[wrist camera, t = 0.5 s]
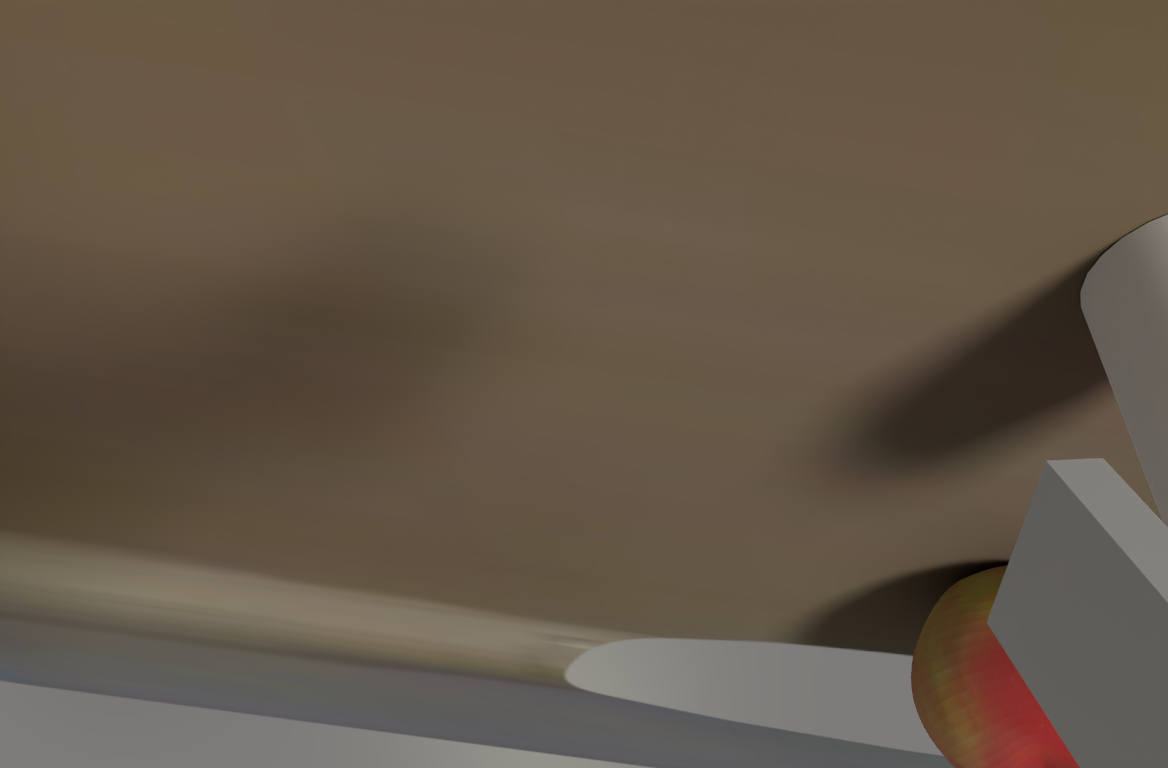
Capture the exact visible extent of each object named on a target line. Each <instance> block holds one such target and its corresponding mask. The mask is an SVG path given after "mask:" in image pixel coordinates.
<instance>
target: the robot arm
mask: <svg viewBox="0 0 1168 768" xmlns="http://www.w3.org/2000/svg"><path fill="white" fill-rule="evenodd" d="M987 624H988V625H989V627H990V629H991V630H992V632H993V633H994V635H995V636H996V638H997V639H998V641H999V643H1000V644H1001V646H1002V647H1003V649H1004V650H1005V652H1006V653H1007V655H1008V657H1009V658H1010V660H1011V661H1012V663H1013V664H1014V666H1015V667H1016V669H1017V671H1018V672H1019V674H1020V675H1021V677H1022V678H1023V680H1024V681H1025V683H1026V685H1027V686H1028V688H1029V689H1030V691H1031V692H1032V694H1033V695H1034V697H1035V699H1036V700H1037V702H1038V703H1039V705H1040V706H1041V708H1042V709H1043V711H1044V713H1045V714H1046V716H1047V717H1048V719H1049V720H1050V722H1051V724H1052V725H1053V727H1054V728H1055V730H1056V731H1057V733H1058V734H1059V736H1060V738H1061V739H1062V741H1063V742H1064V744H1065V745H1066V747H1067V748H1068V750H1069V752H1070V753H1071V755H1072V756H1073V758H1074V759H1075V761H1076V762H1077V764H1078V766H1079V767H1080V768H1168V527H1167V526H1166V525H1165V524H1164V523H1163V522H1162V521H1161V520H1160V519H1159V518H1158V517H1157V516H1156V514H1155V513H1154V512H1153V511H1152V510H1151V509H1150V508H1149V507H1148V506H1147V505H1146V504H1145V503H1144V502H1143V501H1142V499H1141V498H1140V497H1139V496H1138V495H1137V494H1136V493H1135V492H1134V491H1133V490H1132V489H1131V488H1130V487H1129V486H1128V485H1127V483H1126V482H1125V481H1124V480H1123V479H1122V478H1121V477H1120V476H1119V475H1118V474H1117V473H1116V472H1115V471H1114V470H1113V468H1112V467H1111V466H1110V465H1109V464H1108V463H1107V462H1106V461H1105V460H1104V459H1103V458H1096V459H1074V460H1052V461H1046V463H1045V466H1044V468H1043V471H1042V474H1041V476H1040V479H1039V482H1038V485H1037V487H1036V490H1035V493H1034V495H1033V498H1032V501H1031V504H1030V506H1029V509H1028V512H1027V514H1026V517H1025V520H1024V522H1023V525H1022V528H1021V531H1020V533H1019V536H1018V539H1017V541H1016V544H1015V547H1014V550H1013V552H1012V555H1011V558H1010V560H1009V563H1008V566H1007V569H1006V571H1005V574H1004V577H1003V579H1002V582H1001V585H1000V588H999V590H998V593H997V596H996V598H995V601H994V604H993V606H992V609H991V612H990V615H989V617H988V620H987Z"/></svg>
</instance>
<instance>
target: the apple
mask: <svg viewBox="0 0 1168 768" xmlns="http://www.w3.org/2000/svg"><path fill="white" fill-rule="evenodd" d="M1007 566H1008V565H1006V566H1000V567H995V568H991V569H987V570H984V571H981V572H979V573H976V574H973V575H970V576H968V577H966V578H964V579H961V580H960V581H958V582H957V583H955V584H954V585H952V586H951V587H950V588H949V589H948V590H947V591H946V592H945V593H944V594H943V595H942V596H941V598H940V599H939V601H938V602H937V603H936V605H935V606H934V608H933V609H932V611H931V613H930V615H929V616H928V618H927V620H926V622H925V624H924V626H923V628H922V631H921V633H920V635H919V638H918V641H917V644H916V648H915V651H914V656H913V662H912V672H911V673H912V674H911V684H912V693H913V699H914V703H915V706H916V709H917V712H918V715H919V717H920V719H921V722H922V724H923V725H924V728H925V729H926V731H927V733H928V734H929V736H930V738H931V739H932V741H933V742H934V743H935V745H936V746H937V748H938V749H939V750H940V751H941V753H942V754H943V755H944V756H945V758H946V759H947V760H948V761H949V762H950V763H951V764H952V765H953V766H954V767H955V768H1080V767H1079V766H1078V764H1077V762H1076V761H1075V759H1074V758H1073V756H1072V755H1071V753H1070V752H1069V750H1068V748H1067V747H1066V745H1065V744H1064V742H1063V741H1062V739H1061V738H1060V736H1059V734H1058V733H1057V731H1056V730H1055V728H1054V727H1053V725H1052V724H1051V722H1050V720H1049V719H1048V717H1047V716H1046V714H1045V713H1044V711H1043V709H1042V708H1041V706H1040V705H1039V703H1038V702H1037V700H1036V699H1035V697H1034V695H1033V694H1032V692H1031V691H1030V689H1029V688H1028V686H1027V685H1026V683H1025V681H1024V680H1023V678H1022V677H1021V675H1020V674H1019V672H1018V671H1017V669H1016V667H1015V666H1014V664H1013V663H1012V661H1011V660H1010V658H1009V657H1008V655H1007V653H1006V652H1005V650H1004V649H1003V647H1002V646H1001V644H1000V643H999V641H998V639H997V638H996V636H995V635H994V633H993V632H992V630H991V629H990V627H989V625H988V624H987V620H988V617H989V615H990V612H991V609H992V606H993V604H994V601H995V598H996V596H997V593H998V590H999V588H1000V585H1001V582H1002V579H1003V577H1004V574H1005V571H1006V569H1007Z"/></svg>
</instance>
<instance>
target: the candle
mask: <svg viewBox="0 0 1168 768" xmlns="http://www.w3.org/2000/svg"><path fill="white" fill-rule="evenodd" d="M1080 297H1081V309H1082V311H1083V314H1084V317H1085V319H1086V322H1087V325H1088V327H1089V330H1090V332H1091V335H1092V338H1093V340H1094V343H1095V346H1096V348H1097V351H1098V353H1099V356H1100V359H1101V361H1102V364H1103V367H1104V369H1105V372H1106V374H1107V377H1108V380H1109V382H1110V385H1111V388H1112V390H1113V393H1114V395H1115V398H1116V401H1117V403H1118V406H1119V409H1120V411H1121V414H1122V417H1123V419H1124V422H1125V424H1126V427H1127V430H1128V432H1129V435H1130V438H1131V440H1132V443H1133V445H1134V448H1135V451H1136V453H1137V456H1138V459H1139V461H1140V464H1141V466H1142V469H1143V472H1144V474H1145V477H1146V480H1147V482H1148V485H1149V487H1150V490H1151V493H1152V495H1153V498H1154V501H1155V503H1156V506H1157V508H1158V511H1159V514H1160V516H1161V519H1162V522H1163V523H1164V524H1165V525H1166V526H1167V527H1168V214H1167V215H1165V216H1163V217H1160V218H1158V219H1155V220H1153V221H1150V222H1148V223H1146V224H1145V225H1143V226H1141V227H1140V228H1138V229H1136V230H1135V231H1133V232H1131V233H1130V234H1128V235H1126V236H1125V237H1123V238H1122V239H1120V240H1119V241H1118V242H1117V243H1116V244H1114V245H1113V246H1112V247H1111V248H1110V249H1108V250H1107V251H1106V252H1105V253H1104V254H1103V255H1101V257H1100V258H1099V259H1098V260H1097V262H1096V263H1095V264H1094V266H1093V267H1092V268H1091V269H1090V271H1089V272H1088V273H1087V276H1086V278H1085V281H1084V283H1083V286H1082V288H1081V291H1080Z"/></svg>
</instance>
